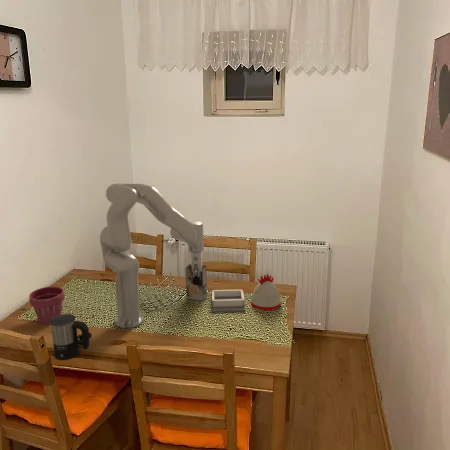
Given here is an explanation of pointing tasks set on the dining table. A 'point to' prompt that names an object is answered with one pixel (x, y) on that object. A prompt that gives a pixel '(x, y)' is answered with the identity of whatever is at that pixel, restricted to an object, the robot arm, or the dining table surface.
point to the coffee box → (196, 290)
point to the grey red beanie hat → (265, 295)
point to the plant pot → (47, 303)
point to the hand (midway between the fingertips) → (196, 280)
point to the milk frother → (68, 336)
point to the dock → (228, 301)
